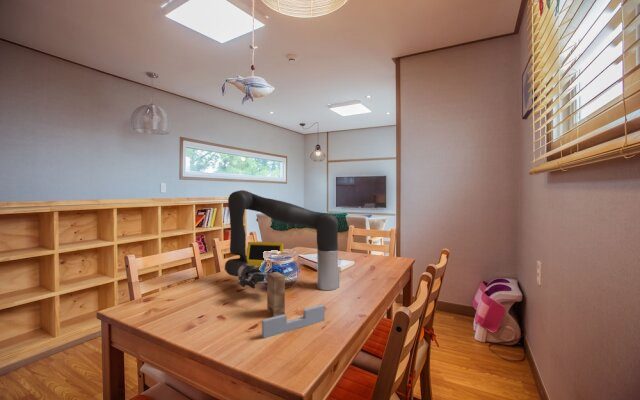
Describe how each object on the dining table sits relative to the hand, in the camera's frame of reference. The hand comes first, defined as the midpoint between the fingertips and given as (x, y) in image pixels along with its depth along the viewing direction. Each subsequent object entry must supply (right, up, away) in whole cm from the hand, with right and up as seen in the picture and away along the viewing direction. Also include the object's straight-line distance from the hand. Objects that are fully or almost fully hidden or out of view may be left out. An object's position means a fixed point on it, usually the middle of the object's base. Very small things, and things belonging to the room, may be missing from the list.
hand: (264, 283), depth 117 cm
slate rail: (+13, -9, -20) cm, 25 cm away
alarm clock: (-9, -7, +49) cm, 50 cm away
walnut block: (+6, -8, -8) cm, 13 cm away
